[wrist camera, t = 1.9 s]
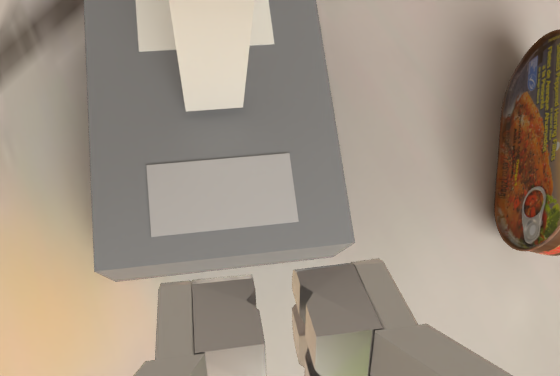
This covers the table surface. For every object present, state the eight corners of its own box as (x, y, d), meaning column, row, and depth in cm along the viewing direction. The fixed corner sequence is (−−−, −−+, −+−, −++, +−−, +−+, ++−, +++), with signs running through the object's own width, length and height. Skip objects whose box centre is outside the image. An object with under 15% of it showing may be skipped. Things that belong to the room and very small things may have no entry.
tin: (504, 66, 41) (575, 0, 33) (543, 75, 41) (623, 12, 33) (488, 258, 36) (565, 237, 28) (531, 267, 37) (620, 249, 29)
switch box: (332, 256, 35) (355, 242, 29) (116, 281, 33) (93, 271, 27) (296, 17, 40) (310, -37, 34) (103, 27, 38) (82, -29, 32)
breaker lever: (250, 113, 30) (273, -42, 17) (179, 118, 29) (149, -38, 17) (246, 74, 30) (264, -103, 18) (175, 79, 30) (144, -101, 17)
